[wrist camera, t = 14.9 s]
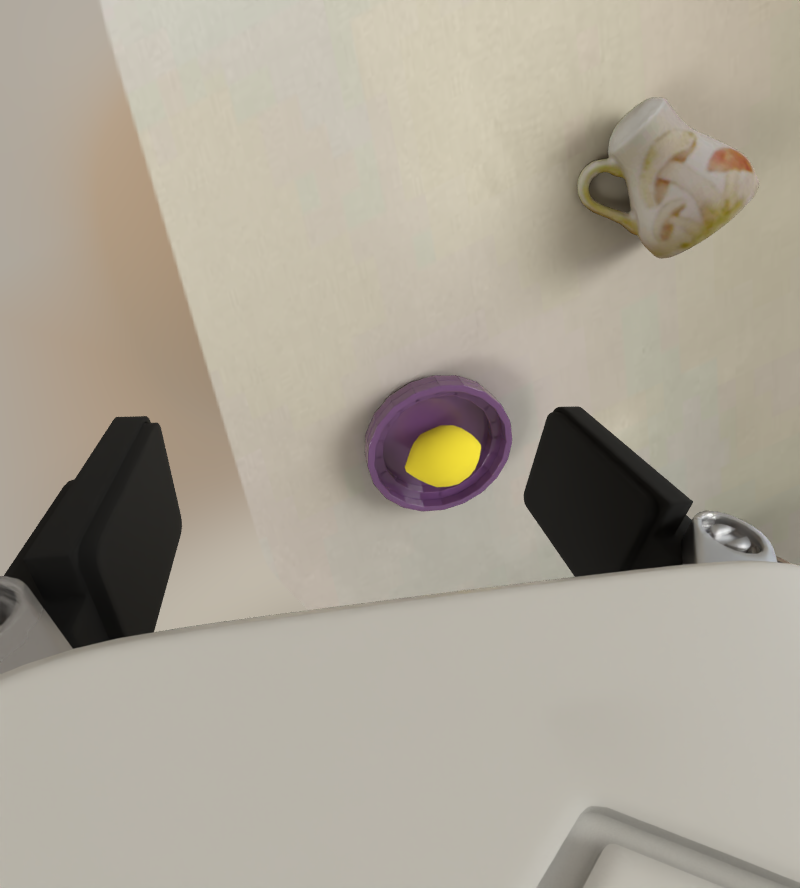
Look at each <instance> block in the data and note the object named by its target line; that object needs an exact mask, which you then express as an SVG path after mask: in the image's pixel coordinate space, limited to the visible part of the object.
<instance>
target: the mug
mask: <svg viewBox="0 0 800 888" xmlns="http://www.w3.org/2000/svg"><path fill="white" fill-rule="evenodd" d="M608 155H609V158H607V159H602V160H596V161H593V162H591V163H590V164H588V165H587V166H586V167H585V168H584V169H583V170H582V172H581V174H580V176H579V180H578V185H577V188H578V195H579V197H580V200H581V202H582V203H583V204H584V205H585V207H587V208H588V209H589V210H590V211H592V212H594V213H596V214H599V215H601V216H604V217H606V218H608V219H611V220H613V221H615V222H617V223H619V224H621V225H622V226H623V227H625V228H626V229H627V230H628V231H629V232H631V233H632V234H635V235H637V236H638V237H639V239H640V240H641V242H642V244H643V245H644V246H645V247H646V248H647V249H648V250H649V251H650V252H651V253H652V254H653V255H654V256H656V257H658V258H669V257H672V256H675V255H677V254H680V253H682V252H684V251H686V250H688V249H690V248H691V247H693V246H695V245H696V244H698V243H700V242H701V241H703V240H705V239H706V238H708V237H709V236H711V235H712V234H713V233H715V232H716V231H717V230H719V229H720V228H721V227H723V226H724V225H725V224H727V223H728V222H729V221H730V220H731V219H732V218H734V217H735V216H736V215H737V214H738V213H739V212H740V211H741V210H742V209H743V208H744V207H745V206H746V205H747V204H748V203H749V202H750V201H751V200H752V198H753V197H754V196H755V194H756V192H757V190H758V188H759V180H758V177H757V175H756V172H755V170H754V167H753V165H752V164H751V162H750V161H749V160H748V158H747V157H746V156H745V155H744V154H742V153H741V152H739V151H738V150H736V149H735V148H733V147H731V146H729V145H727V144H725V143H723V142H721V141H718V140H716V139H713V138H711V137H709V136H707V135H705V134H703V133H700V132H698V131H696V130H694V129H692V128H690V127H689V126H688V125H687V124H685V123H684V122H683V121H682V120H681V118H680V117H679V116H678V115H677V113H676V112H675V110H674V109H673V108H672V106H671V105H670V104H669V102H668V101H667V99H665V98H650V99H647V100H645V101H643V102H641V103H640V104H638V105H637V106H635V107H634V108H633V109H632V110H631V111H629V112H628V113H627V114H626V115H625V116H624V117H623V118H622V119H621V120H620V121H619V123H618V124H617V125H616V127H615V128H614V130H613V132H612V135H611V137H610V140H609V147H608ZM602 172H608V173H610V174H612V175H614V176H617V177H622V178H624V179H625V181H626V185H627V188H628V193H629V199H630V207H631V211H630V212H629V213H625V212H622V211H619V210H615V209H612V208H610V207H607V206H604V205H602V204H600V203H598V202H596V201H595V200H594V199H592V198H591V196H590V193H589V184H590V182H591V180H592V178H593V177H595V176H596V175H598V174H599V173H602Z"/></svg>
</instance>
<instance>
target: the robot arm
mask: <svg viewBox="0 0 800 888" xmlns="http://www.w3.org/2000/svg"><path fill="white" fill-rule="evenodd" d="M524 502H525V505H526V507H527V508H528V510H529V511H530V513H531V514H532V515H533V517H534V518H535V520H536V521H537V523H538V524H539V526H540V527H541V528H542V530H543V531H544V533H545V534H546V536H547V537H548V538H549V540H550V541H551V543H552V544H553V546H554V547H555V549H556V550H557V551H558V553H559V554H560V556H561V557H562V559H563V560H564V562H565V563H566V564H567V566H568V567H569V569H570V570H571V572H572V573H573V575H574V576H575V577H571V578H562V579H554V580H545V581H537V582H528V583H520V584H512V585H504V586H496V587H488V588H480V589H471V590H463V591H455V592H447V593H439V594H431V595H423V596H415V597H407V598H399V599H392V600H384V601H376V602H368V603H361V604H353V605H345V606H337V607H330V608H322V609H314V610H307V611H299V612H291V613H284V614H276V615H268V616H261V617H253V618H247V619H239V620H232V621H224V622H217V623H210V624H203V625H196V626H190V627H184V628H177V629H171V630H165V631H159V632H154V630H155V626H156V622H157V619H158V615H159V611H160V607H161V604H162V600H163V597H164V593H165V590H166V586H167V582H168V579H169V575H170V571H171V568H172V564H173V561H174V557H175V553H176V550H177V546H178V542H179V539H180V535H181V529H182V521H181V514H180V510H179V506H178V501H177V497H176V492H175V488H174V484H173V479H172V475H171V471H170V466H169V462H168V457H167V453H166V449H165V444H164V440H163V435H162V431H161V427H160V425H159V424H158V423H151V422H150V420H149V418H148V417H147V416H141V417H116V418H115V419H114V420H113V421H112V423H111V425H110V426H109V428H108V429H107V431H106V432H105V434H104V435H103V437H102V438H101V440H100V442H99V443H98V445H97V446H96V448H95V449H94V451H93V452H92V454H91V455H90V457H89V458H88V460H87V461H86V463H85V464H84V466H83V468H82V469H81V471H80V472H79V474H78V475H77V477H76V478H75V480H71V481H69V482H68V483H67V484H66V485H65V486H64V487H63V488H62V490H61V491H60V493H59V494H58V496H57V497H56V499H55V500H54V502H53V503H52V505H51V506H50V508H49V509H48V511H47V512H46V514H45V515H44V517H43V518H42V520H41V521H40V523H39V524H38V526H37V527H36V529H35V530H34V532H33V533H32V535H31V536H30V537H29V539H28V540H27V542H26V543H25V545H24V547H23V548H22V550H21V551H20V552H19V554H18V555H17V557H16V559H15V560H14V561H13V563H12V564H11V566H10V567H9V569H8V570H7V572H6V573H5V575H4V576H0V888H800V565H795V564H789V563H783V562H780V561H777V559H776V556H775V552H774V549H773V547H772V545H771V543H770V541H769V540H768V539H767V538H766V537H765V536H764V535H763V534H762V533H761V532H760V531H759V530H757V529H756V528H755V527H753V526H752V525H750V524H748V523H746V522H744V521H743V520H741V519H739V518H736V517H733V516H731V515H728V514H725V513H721V512H716V511H703V512H699V513H697V514H696V515H695V516H694V518H693V519H692V520H691V519H690V518H689V517H688V516H687V515H686V514H687V512H688V510H689V508H690V507H691V505H692V503H693V501H692V500H690V499H689V498H688V497H687V496H686V495H684V494H683V493H682V492H681V491H680V490H679V489H677V488H676V487H675V486H674V485H673V484H671V483H670V482H669V481H668V480H667V479H665V478H664V477H663V476H662V475H661V474H660V473H658V472H657V471H656V470H655V469H654V468H652V467H651V466H650V465H649V464H648V463H646V462H645V461H644V460H643V459H642V458H641V457H639V456H638V455H637V454H636V453H635V452H633V451H632V450H631V449H630V448H629V447H627V446H626V445H625V444H624V443H623V442H622V441H620V440H619V439H618V438H617V437H616V436H614V435H613V434H612V433H611V432H610V431H608V430H607V429H606V428H605V427H604V426H603V425H601V424H600V423H599V422H598V421H597V420H595V419H594V418H593V417H592V416H591V415H589V414H588V413H587V412H586V411H585V410H583V409H582V408H581V407H558V408H556V409H555V410H554V411H553V413H550V414H549V415H548V417H547V419H546V422H545V426H544V429H543V432H542V436H541V439H540V442H539V445H538V449H537V452H536V455H535V459H534V462H533V465H532V468H531V472H530V475H529V478H528V482H527V485H526V488H525V491H524Z"/></svg>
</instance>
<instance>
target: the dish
mask: <svg viewBox="0 0 800 888" xmlns="http://www.w3.org/2000/svg"><path fill="white" fill-rule="evenodd" d="M440 425H454V426H457V427H460V428H462V429H464V430H465V431H467V432H469V433H470V434H472V435H473V436H474V437H475V438H476V439H477V440H478V441H479V443H480V444H481V451H480V457H479V461H478V463H477V466H476V468H475V470H474V471H473V472H472V474H471V475H470V476H469V477H468V478H466V479H465V480H464V481H462V482H461V483H460V484H457V485H453V486H449V487H435V486H432V485H429V484H427V483H425V482H422V481H420V480H418V479H417V478H415V477H413V476H412V475H410V474H409V473H407V472H406V470H405V465H406V462H407V459H408V456H409V453H410V450H411V448H412V445H413V443H414V442H415V441H416V439H417V438H418V437H419V435H420V434H422V433H424V432H426V431H429V430H431V429H433V428H435V427H438V426H440ZM511 444H512V432H511V423H510V420H509V418H508V416H507V414H506V413H505V411H504V409H503V407H502V405H501V404H500V403H499V402H498V400H497V399H496V398H495V397H494V396H493V395H492V394H491V393H490V392H489V391H487V390H486V389H485V388H484V387H483V386H481V385H480V384H479V383H477V382H475V381H472V380H469V379H466V378H463V377H460V376H430V377H427V378H423V379H420V380H417V381H414V382H410V383H409V384H407V385H405V386H404V387H402V388H401V389H399V390H398V391H396V392H395V393H393V394H392V395H390V396H389V397H388V398H387V399H386V400H385V402H384V403H383V404H382V405H381V406H380V407H379V409H378V410H377V411H376V412H375V413H374V415H373V418H372V420H371V423H370V425H369V427H368V430H367V432H366V436H365V457H366V462H367V466H368V469H369V472H370V475H371V478H372V481H373V483H374V485H375V486H376V487H377V488H378V490H379V491H380V492H381V493H382V494H383V495H384V496H385V498H387V499H388V500H390V501H392V502H394V503H396V504H398V505H399V506H401V507H403V508H408V509H413V510H418V511H434V510H445V509H448V508H451V507H454V506H457V505H460V504H463V503H465V502H467V501H468V500H470V499H472V498H473V497H475V496H477V495H478V494H480V493H482V492H483V491H484V490H485V489H486V488H487V487H488V486H489V485H490V484H491V483H492V482H493V481H494V480H495V479H496V478H497V477H498V475H499V474H500V472H501V470H502V469H503V467H504V465H505V464H506V462H507V460H508V457H509V452H510V448H511Z"/></svg>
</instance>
